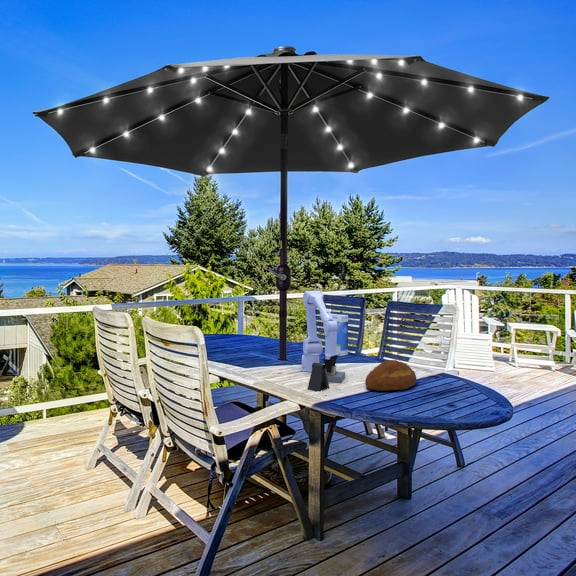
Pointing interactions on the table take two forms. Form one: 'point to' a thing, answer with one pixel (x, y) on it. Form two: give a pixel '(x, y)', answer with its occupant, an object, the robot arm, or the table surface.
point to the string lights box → (342, 334)
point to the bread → (390, 376)
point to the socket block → (336, 377)
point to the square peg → (332, 371)
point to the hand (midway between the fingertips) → (330, 370)
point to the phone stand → (318, 377)
